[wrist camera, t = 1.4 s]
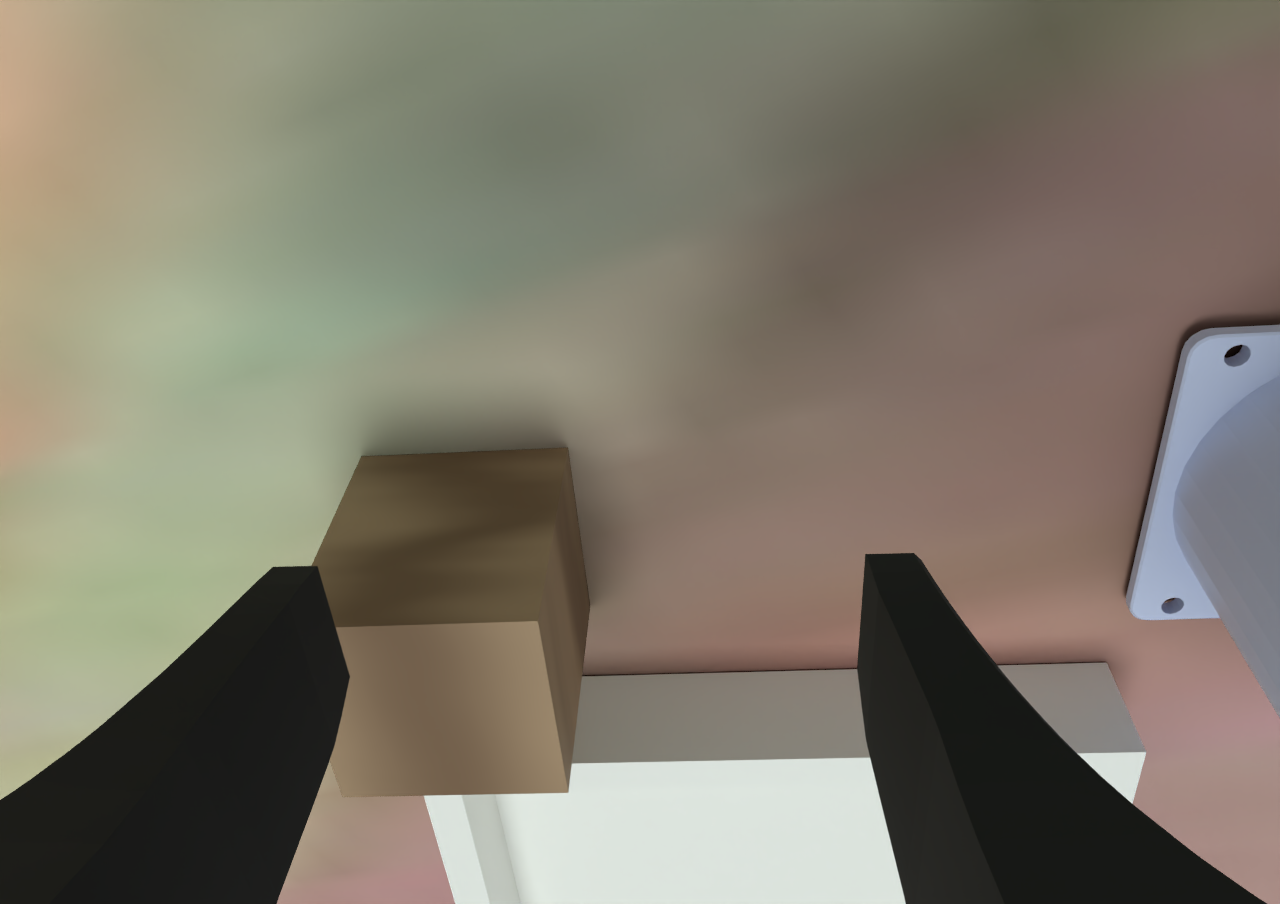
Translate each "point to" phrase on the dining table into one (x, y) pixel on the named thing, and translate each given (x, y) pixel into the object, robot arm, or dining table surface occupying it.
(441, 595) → the walnut block
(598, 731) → the tray
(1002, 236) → the dining table surface
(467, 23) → the dining table surface
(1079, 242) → the dining table surface
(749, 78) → the dining table surface
